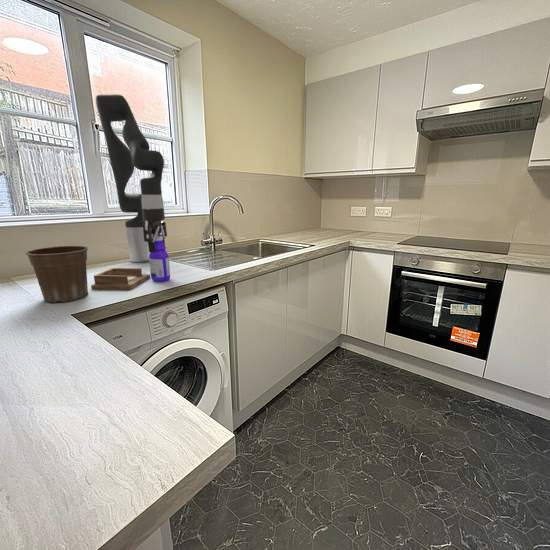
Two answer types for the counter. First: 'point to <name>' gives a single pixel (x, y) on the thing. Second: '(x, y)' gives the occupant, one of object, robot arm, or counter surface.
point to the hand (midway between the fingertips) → (157, 250)
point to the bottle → (159, 262)
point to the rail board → (119, 279)
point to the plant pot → (60, 272)
